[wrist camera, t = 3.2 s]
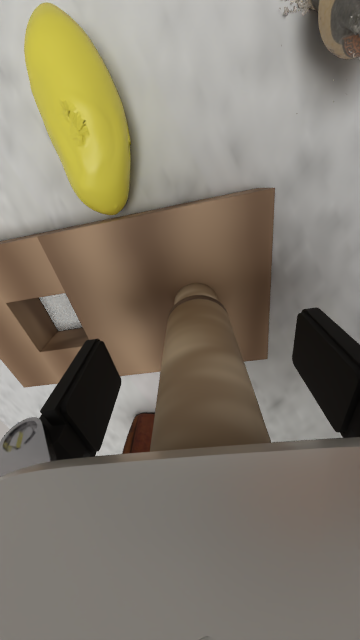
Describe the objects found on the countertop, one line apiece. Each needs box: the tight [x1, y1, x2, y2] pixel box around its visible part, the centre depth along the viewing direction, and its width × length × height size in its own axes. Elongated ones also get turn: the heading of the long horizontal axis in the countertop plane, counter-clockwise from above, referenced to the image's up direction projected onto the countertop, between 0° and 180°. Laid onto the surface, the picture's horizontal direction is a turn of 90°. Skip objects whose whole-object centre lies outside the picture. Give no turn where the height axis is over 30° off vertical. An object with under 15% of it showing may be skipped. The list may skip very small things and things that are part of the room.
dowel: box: [150, 283, 271, 452], centre depth 10 cm, size 4×4×11 cm
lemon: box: [24, 3, 131, 215], centre depth 11 cm, size 4×8×4 cm, turn 6°
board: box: [0, 188, 275, 387], centre depth 17 cm, size 22×12×3 cm, turn 100°
